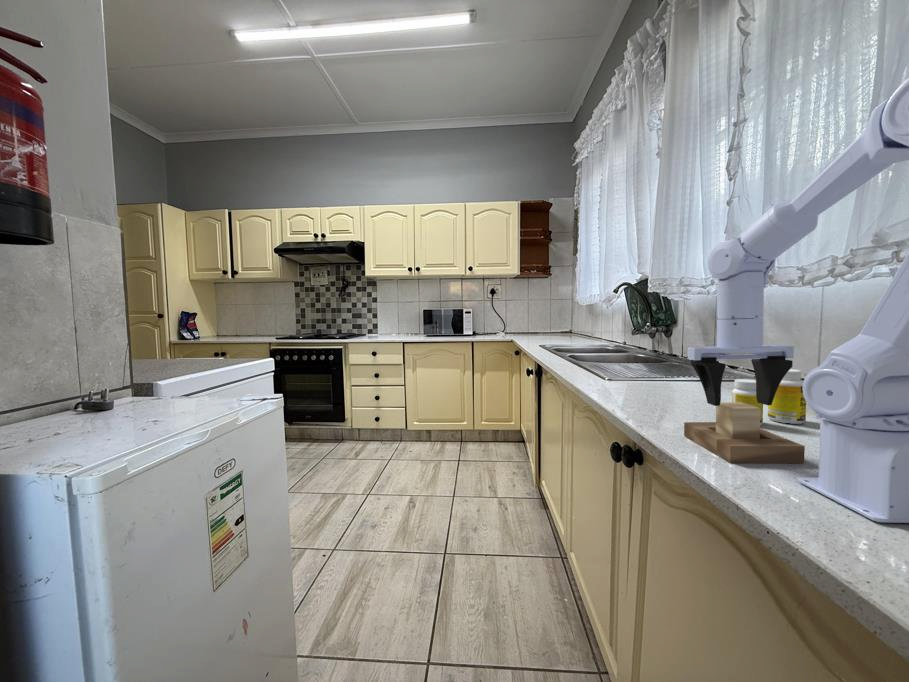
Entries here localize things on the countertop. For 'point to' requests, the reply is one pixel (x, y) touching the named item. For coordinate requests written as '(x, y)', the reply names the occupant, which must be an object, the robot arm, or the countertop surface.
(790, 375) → the supplement bottle
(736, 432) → the oak peg
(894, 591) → the countertop surface
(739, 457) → the collar block
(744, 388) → the supplement bottle
